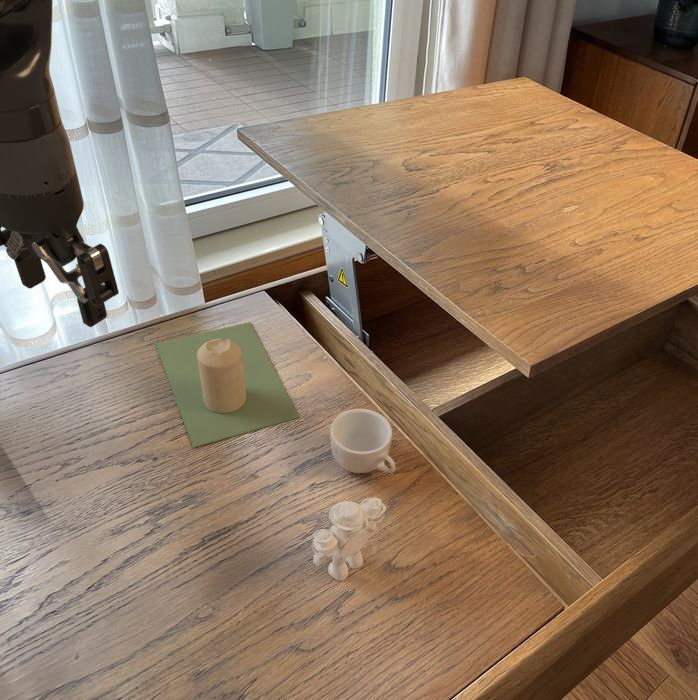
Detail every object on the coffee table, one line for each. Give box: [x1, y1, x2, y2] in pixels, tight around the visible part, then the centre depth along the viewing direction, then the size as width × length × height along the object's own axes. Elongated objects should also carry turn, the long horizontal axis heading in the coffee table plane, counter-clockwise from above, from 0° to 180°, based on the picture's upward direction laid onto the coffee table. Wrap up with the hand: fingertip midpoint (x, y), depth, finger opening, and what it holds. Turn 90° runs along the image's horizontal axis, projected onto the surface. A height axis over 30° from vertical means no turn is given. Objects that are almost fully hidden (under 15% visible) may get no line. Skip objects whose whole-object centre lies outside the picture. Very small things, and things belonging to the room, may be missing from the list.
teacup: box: [329, 408, 396, 474], centre depth 91 cm, size 10×8×5 cm
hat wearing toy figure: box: [311, 495, 387, 582], centre depth 77 cm, size 9×4×12 cm, turn 135°
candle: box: [197, 339, 246, 413], centre depth 95 cm, size 6×6×10 cm
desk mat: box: [154, 321, 300, 449], centre depth 101 cm, size 14×22×1 cm, turn 30°
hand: (65, 302), depth 73 cm, fingers open, 8 cm apart
